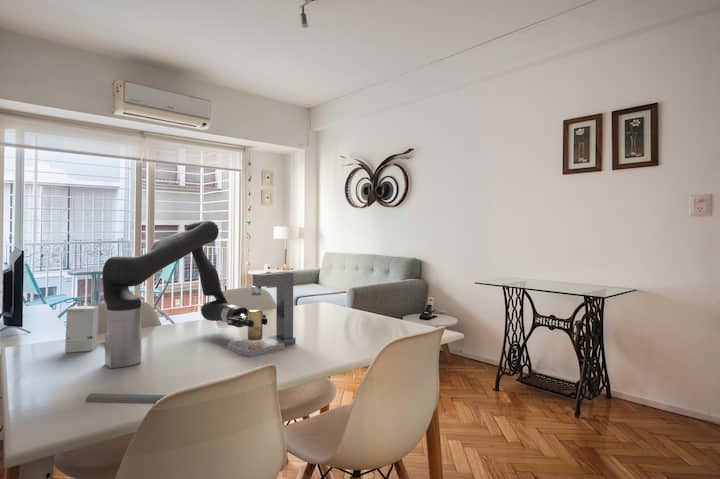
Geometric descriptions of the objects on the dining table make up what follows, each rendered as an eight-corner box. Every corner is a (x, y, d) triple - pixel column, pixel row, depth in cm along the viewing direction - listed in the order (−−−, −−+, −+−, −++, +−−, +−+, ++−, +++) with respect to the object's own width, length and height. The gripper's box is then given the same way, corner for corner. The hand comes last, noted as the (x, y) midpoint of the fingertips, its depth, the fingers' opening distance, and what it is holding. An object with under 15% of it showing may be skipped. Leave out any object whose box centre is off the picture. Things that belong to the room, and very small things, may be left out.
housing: (252, 341, 143) (252, 312, 142) (245, 338, 146) (245, 310, 146) (265, 338, 146) (265, 310, 146) (257, 336, 150) (257, 308, 149)
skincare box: (64, 353, 139) (64, 309, 139) (71, 348, 145) (71, 305, 144) (93, 351, 141) (93, 307, 141) (99, 346, 147) (98, 304, 147)
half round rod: (163, 406, 99) (163, 399, 99) (83, 404, 100) (83, 397, 100) (172, 399, 103) (172, 392, 103) (95, 397, 104) (95, 390, 104)
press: (248, 357, 136) (248, 278, 135) (220, 344, 150) (220, 273, 149) (300, 344, 151) (300, 273, 150) (270, 334, 165) (270, 269, 164)
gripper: (217, 308, 151) (240, 315, 139) (252, 303, 161) (277, 309, 149) (217, 328, 151) (240, 337, 139) (252, 322, 161) (276, 330, 149)
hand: (259, 323), depth 144 cm, fingers closed on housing, 5 cm apart
